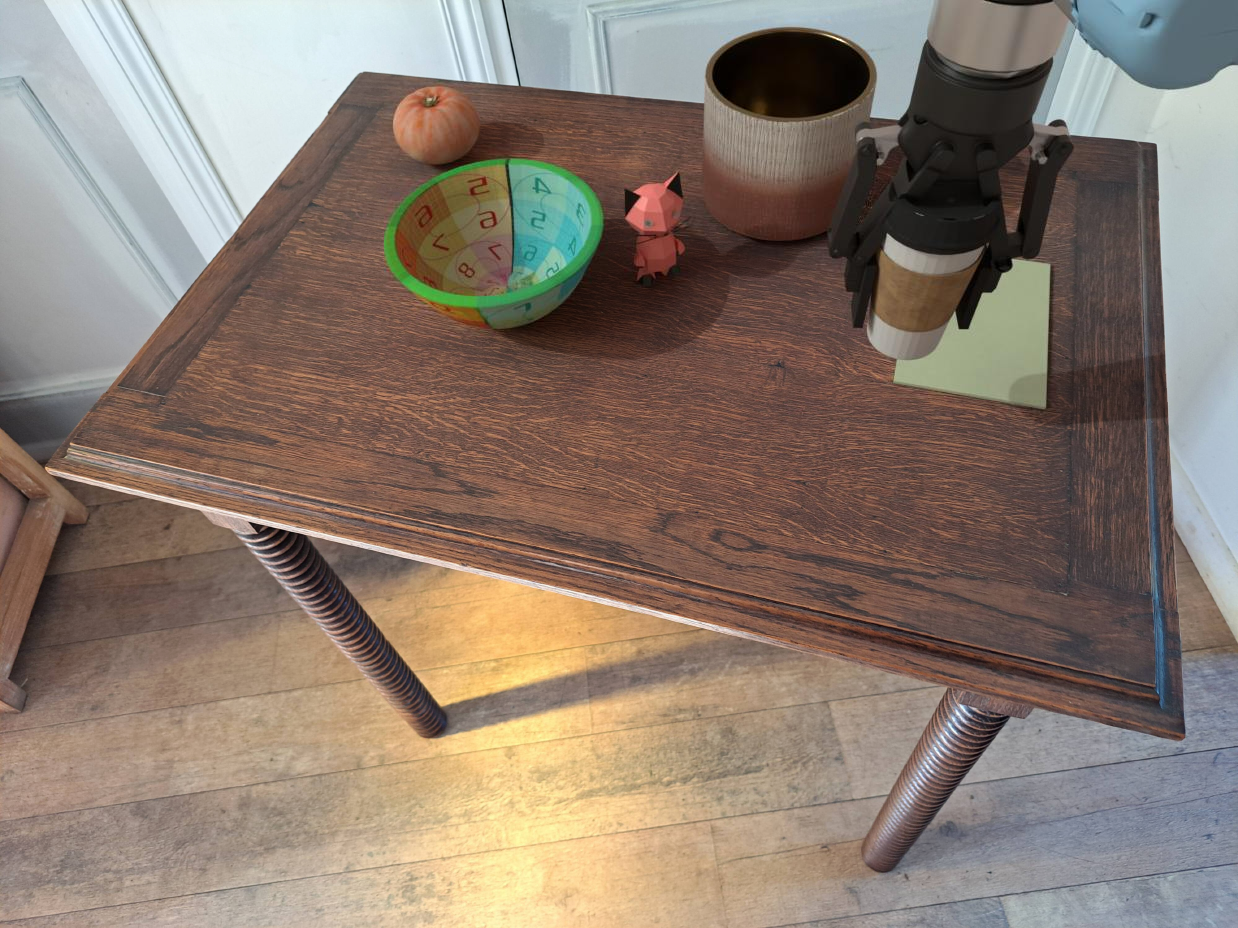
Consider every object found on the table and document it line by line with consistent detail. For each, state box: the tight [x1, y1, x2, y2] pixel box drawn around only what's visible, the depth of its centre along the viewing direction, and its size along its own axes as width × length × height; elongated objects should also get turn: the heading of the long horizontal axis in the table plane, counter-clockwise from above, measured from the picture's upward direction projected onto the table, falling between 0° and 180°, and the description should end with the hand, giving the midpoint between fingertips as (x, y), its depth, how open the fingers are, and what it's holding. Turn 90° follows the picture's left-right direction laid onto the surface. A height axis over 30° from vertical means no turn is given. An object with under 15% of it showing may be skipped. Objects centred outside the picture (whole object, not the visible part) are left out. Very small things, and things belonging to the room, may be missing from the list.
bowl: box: [383, 158, 605, 330], centre depth 90 cm, size 22×22×10 cm
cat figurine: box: [624, 170, 693, 287], centre depth 90 cm, size 7×7×12 cm
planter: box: [701, 26, 878, 242], centre depth 94 cm, size 18×18×16 cm
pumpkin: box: [392, 85, 481, 165], centre depth 107 cm, size 11×11×8 cm
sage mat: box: [893, 258, 1051, 411], centre depth 87 cm, size 20×14×1 cm
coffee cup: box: [866, 170, 1000, 360], centre depth 65 cm, size 8×8×15 cm
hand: (908, 316), depth 70 cm, fingers closed on coffee cup, 8 cm apart
